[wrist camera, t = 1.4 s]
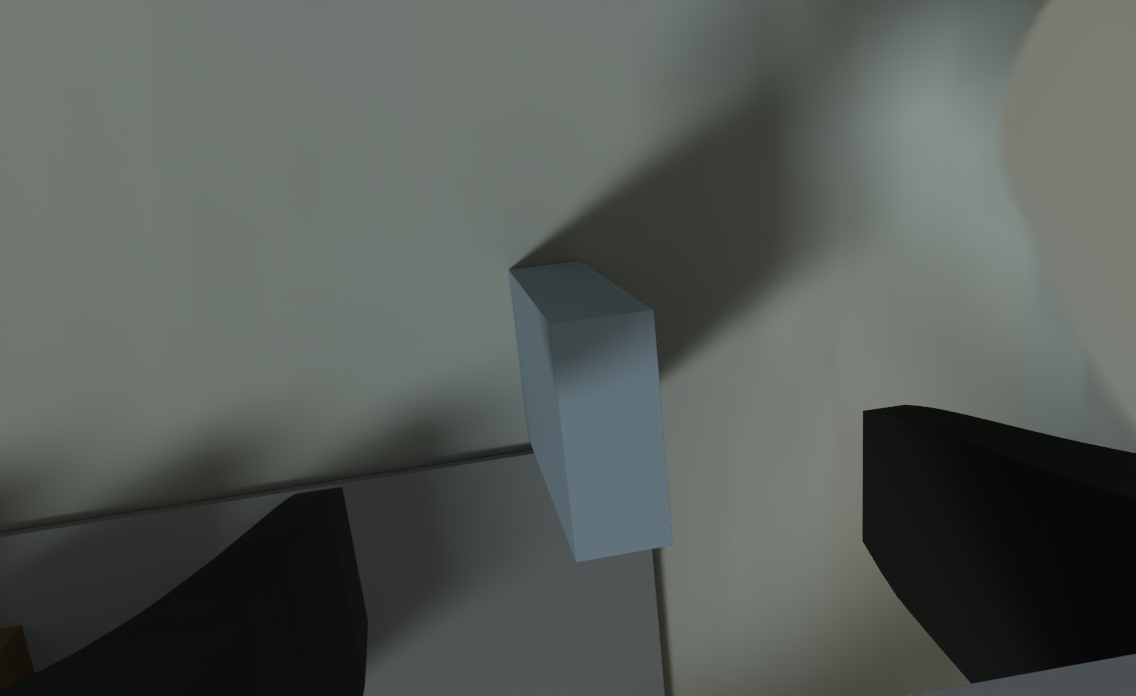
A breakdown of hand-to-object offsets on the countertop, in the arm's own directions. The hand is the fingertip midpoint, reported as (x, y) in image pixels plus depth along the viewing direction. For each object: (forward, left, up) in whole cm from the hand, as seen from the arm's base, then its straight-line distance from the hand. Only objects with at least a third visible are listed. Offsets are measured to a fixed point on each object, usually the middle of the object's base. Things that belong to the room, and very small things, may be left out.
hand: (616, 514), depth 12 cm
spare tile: (0, -1, -10) cm, 10 cm away
